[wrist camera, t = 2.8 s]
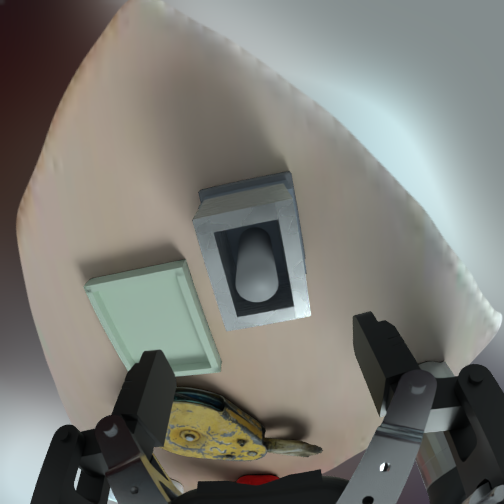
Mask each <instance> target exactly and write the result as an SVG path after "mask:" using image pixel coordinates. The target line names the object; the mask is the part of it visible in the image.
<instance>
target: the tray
mask: <svg viewBox="0 0 504 504" xmlns="http://www.w3.org/2000/svg"><path fill="white" fill-rule="evenodd" d="M84 289H85V291H86V293H87V296H88V298H89V300H90V302H91V304H92V306H93V308H94V310H95V312H96V314H97V316H98V318H99V320H100V322H101V324H102V326H103V328H104V330H105V332H106V334H107V335H108V337H109V339H110V341H111V343H112V345H113V346H114V348H115V350H116V352H117V353H118V355H119V357H120V359H121V360H122V362H123V364H124V365H125V367H126V369H127V370H128V371H129V370H130V369H131V368H132V366H133V365H134V364H135V363H139V361H140V358H141V356H142V353H143V352H144V351H149V350H159V349H160V350H162V351H163V353H164V355H165V357H166V359H167V361H168V362H169V364H170V366H171V368H172V370H173V372H174V374H175V376H187V375H198V374H207V373H216V372H221V363H222V361H221V358H220V356H219V353H218V351H217V348H216V345H215V343H214V340H213V337H212V334H211V332H210V329H209V326H208V323H207V321H206V318H205V315H204V312H203V309H202V307H201V304H200V301H199V298H198V295H197V292H196V289H195V286H194V283H193V280H192V277H191V274H190V271H189V268H188V265H187V262H186V259H184V260H179V261H175V262H170V263H165V264H160V265H155V266H150V267H145V268H140V269H136V270H131V271H126V272H121V273H116V274H112V275H107V276H102V277H97V278H92V279H90V280H89V281H88V282H87V283H86V284H85V286H84Z"/></svg>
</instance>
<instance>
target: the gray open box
mask: <svg viewBox="0 0 504 504" xmlns="http://www.w3.org/2000/svg"><path fill="white" fill-rule="evenodd" d="M272 220H276V221H277V226H278V231H279V237H280V242H281V247H282V253H283V258H284V263H285V269H286V272H284V273H279V274H277V277H278V288H277V291H276V293H275V294H274V295H273V296H272V297H271V298H269V299H268V300H265V301H262V302H251V301H248V300H246V299H244V298H243V297H241V296H240V294H239V293H238V291H237V289H236V272H237V271H236V267H235V263H234V259H233V255H232V251H231V247H230V244H229V240H228V236H227V232H226V230H228V229H233V228H237V227H242V226H247V225H252V224H257V223H262V222H267V221H272ZM192 221H193V224H194V228H195V231H196V235H197V238H198V242H199V245H200V248H201V252H202V255H203V259H204V262H205V265H206V269H207V272H208V275H209V278H210V282H211V285H212V288H213V291H214V294H215V298H216V301H217V304H218V307H219V310H220V313H221V316H222V319H223V322H224V326H225V329H226V331H231V330H237V329H243V328H249V327H255V326H261V325H266V324H272V323H277V322H282V321H287V320H293V319H298V318H303V317H307V316H311V312H310V304H309V297H308V290H307V283H306V276H305V269H304V263H303V256H302V250H301V244H300V238H299V231H298V225H297V220H296V214H295V208H294V202H293V198H292V197H291V195H290V193H289V192H288V190H287V189H286V187H285V185H284V184H283V183H282V184H277V185H272V186H267V187H262V188H257V189H252V190H247V191H243V192H238V193H233V194H229V195H224V196H220V197H215V198H211V199H207V200H204V202H203V203H202V205H201V206H200V208H199V210H198V211H197V213H196V215H195V216H194V218H193V220H192Z"/></svg>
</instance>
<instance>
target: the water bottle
mask: <svg viewBox="0 0 504 504" xmlns="http://www.w3.org/2000/svg"><path fill="white" fill-rule="evenodd" d="M276 479H279V478H278V477H276V476H273V475H246V476H243V477H240V478H239V479H238V480H237V482H236V483H243V484H250V485H261V484H264V483H268V482H271V481H273V480H276Z"/></svg>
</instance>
